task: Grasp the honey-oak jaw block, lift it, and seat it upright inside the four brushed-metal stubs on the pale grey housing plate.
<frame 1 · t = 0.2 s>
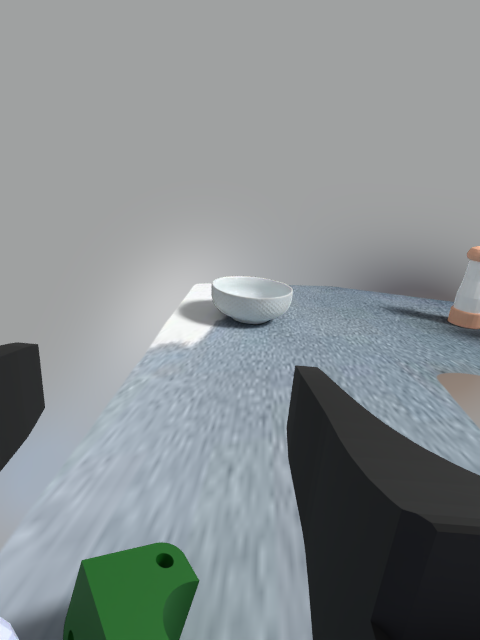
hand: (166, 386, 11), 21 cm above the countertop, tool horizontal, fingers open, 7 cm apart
cereal bowl: (248, 318, 84), on the countertop
pepper shaker: (463, 324, 96), on the countertop
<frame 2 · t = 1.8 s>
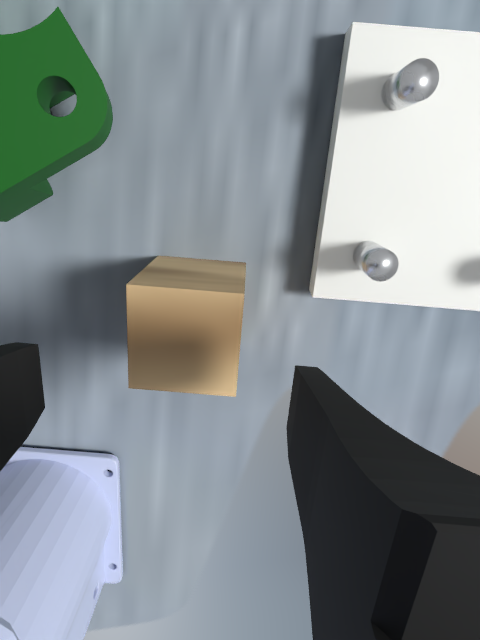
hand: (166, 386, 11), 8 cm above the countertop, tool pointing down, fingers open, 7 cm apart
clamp: (5, 48, 16), on the countertop
housing plate: (444, 184, 17), on the countertop
jaw block: (200, 300, 19), on the countertop
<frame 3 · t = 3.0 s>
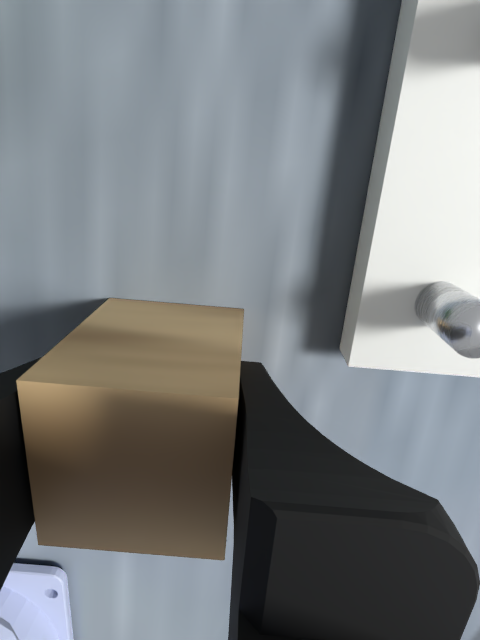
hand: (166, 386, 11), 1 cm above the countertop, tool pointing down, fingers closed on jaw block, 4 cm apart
jaw block: (175, 363, 13), on the countertop, touching gripper
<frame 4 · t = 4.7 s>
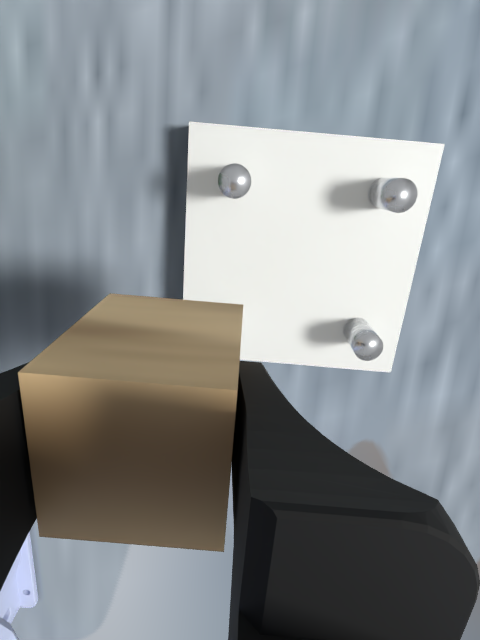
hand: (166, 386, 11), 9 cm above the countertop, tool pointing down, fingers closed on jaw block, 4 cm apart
housing plate: (296, 254, 18), on the countertop
jaw block: (175, 359, 13), point 7 cm above the countertop, touching gripper
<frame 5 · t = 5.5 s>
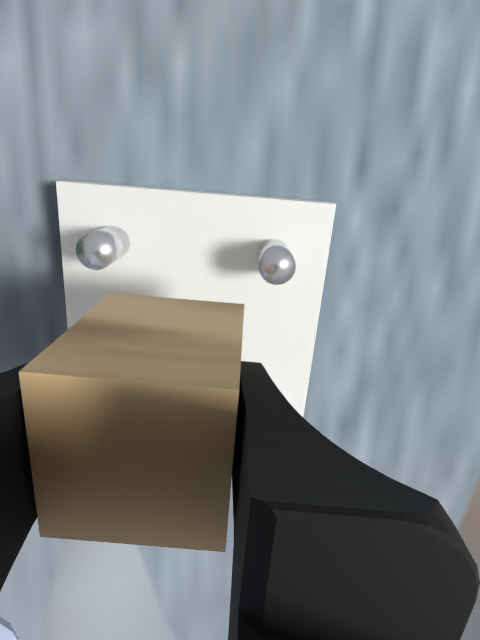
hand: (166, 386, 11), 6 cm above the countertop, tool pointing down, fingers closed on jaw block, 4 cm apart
housing plate: (195, 313, 17), on the countertop
jaw block: (176, 358, 13), point 5 cm above the countertop, touching gripper
when the fingers open (4 cm above the countertop, at t = 6.3 s): jaw block stays where it is, resting on housing plate.
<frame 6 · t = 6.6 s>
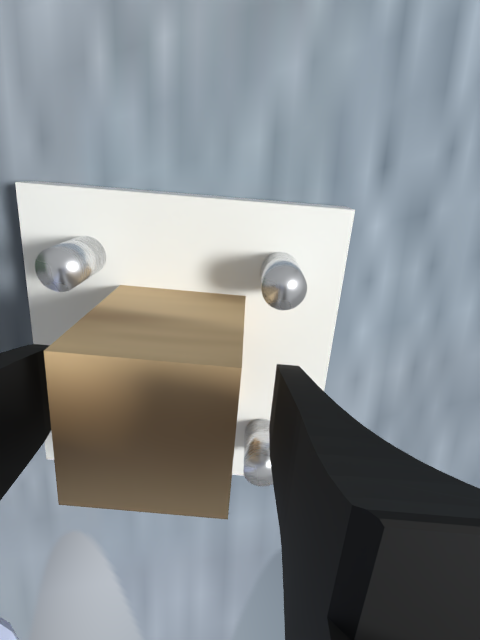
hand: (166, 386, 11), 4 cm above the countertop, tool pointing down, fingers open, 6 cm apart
housing plate: (186, 336, 15), on the countertop
jaw block: (181, 347, 13), point 1 cm above the countertop, touching housing plate
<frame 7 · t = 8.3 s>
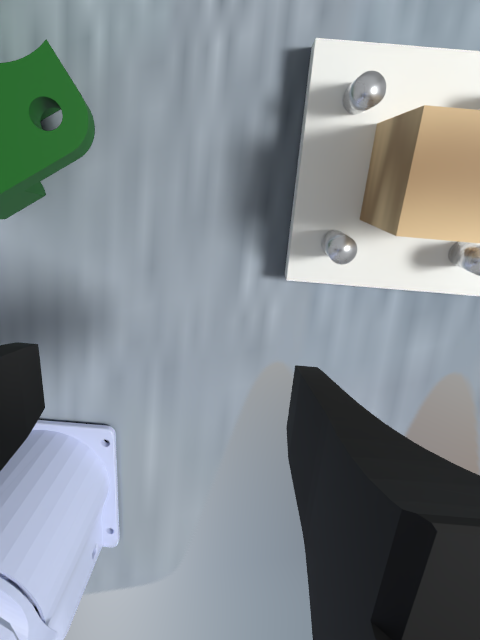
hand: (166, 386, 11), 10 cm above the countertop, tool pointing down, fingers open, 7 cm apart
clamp: (3, 67, 18), on the countertop
housing plate: (402, 179, 19), on the countertop
jaw block: (412, 177, 18), point 1 cm above the countertop, touching housing plate
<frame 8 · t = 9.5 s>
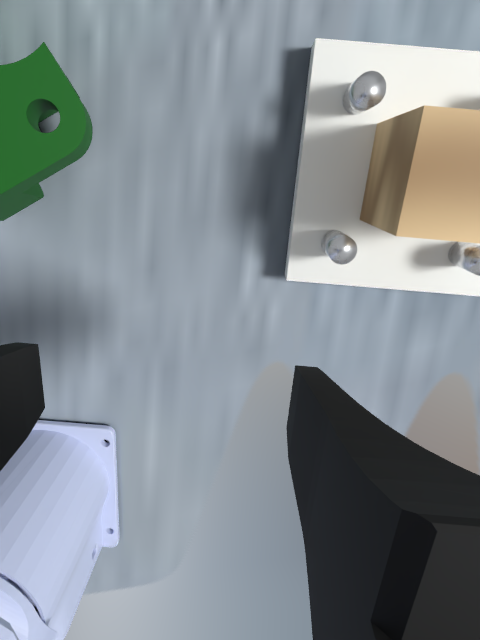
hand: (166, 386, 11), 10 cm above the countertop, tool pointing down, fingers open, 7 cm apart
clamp: (1, 69, 18), on the countertop
housing plate: (402, 179, 19), on the countertop
jaw block: (412, 177, 18), point 1 cm above the countertop, touching housing plate
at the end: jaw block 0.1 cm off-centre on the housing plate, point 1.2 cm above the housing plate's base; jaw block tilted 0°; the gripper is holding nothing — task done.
